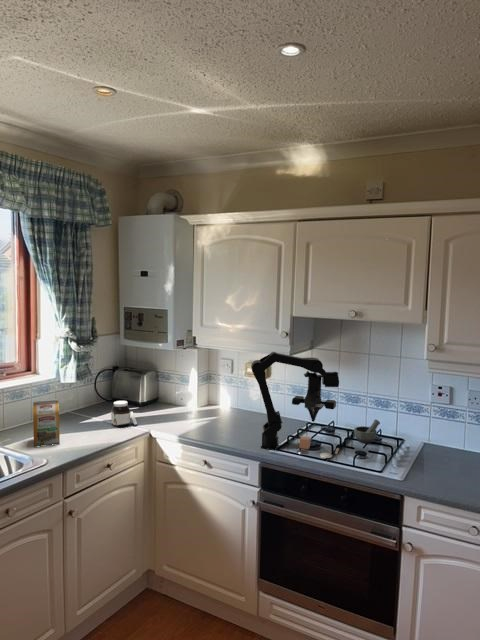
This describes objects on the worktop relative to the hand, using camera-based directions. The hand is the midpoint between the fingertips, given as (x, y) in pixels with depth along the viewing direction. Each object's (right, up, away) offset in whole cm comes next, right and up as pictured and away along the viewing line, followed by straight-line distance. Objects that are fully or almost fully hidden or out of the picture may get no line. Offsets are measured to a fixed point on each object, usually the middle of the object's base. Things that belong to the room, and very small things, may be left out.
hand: (313, 421), depth 216 cm
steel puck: (-6, -13, -9) cm, 17 cm away
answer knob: (-4, -11, -3) cm, 12 cm away
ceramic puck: (+3, -13, -12) cm, 18 cm away
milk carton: (-120, -10, +3) cm, 120 cm away
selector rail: (+1, -12, -4) cm, 13 cm away
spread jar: (-91, -8, +30) cm, 96 cm away
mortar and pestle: (+25, -12, +6) cm, 28 cm away
